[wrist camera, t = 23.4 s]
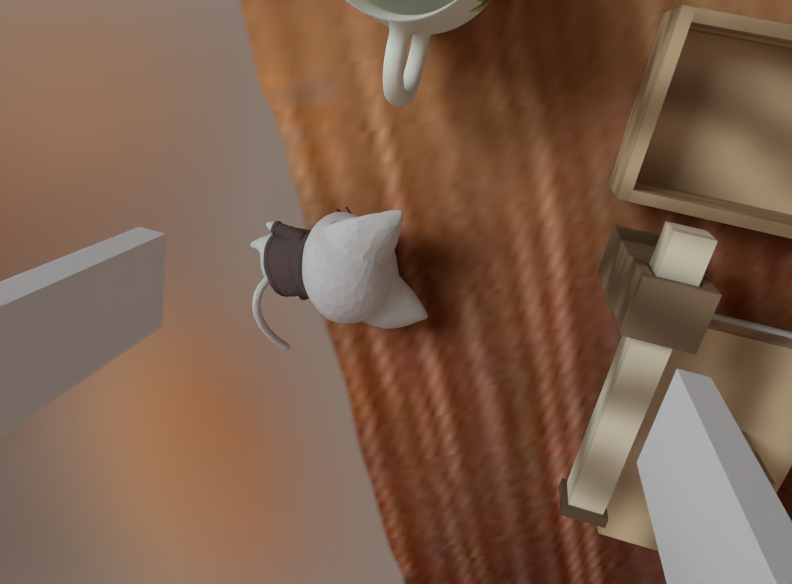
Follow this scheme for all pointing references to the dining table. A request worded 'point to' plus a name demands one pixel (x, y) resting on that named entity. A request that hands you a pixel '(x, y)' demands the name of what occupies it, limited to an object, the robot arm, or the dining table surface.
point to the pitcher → (421, 16)
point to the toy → (339, 270)
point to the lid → (746, 400)
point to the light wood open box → (700, 159)
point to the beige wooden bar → (629, 386)
